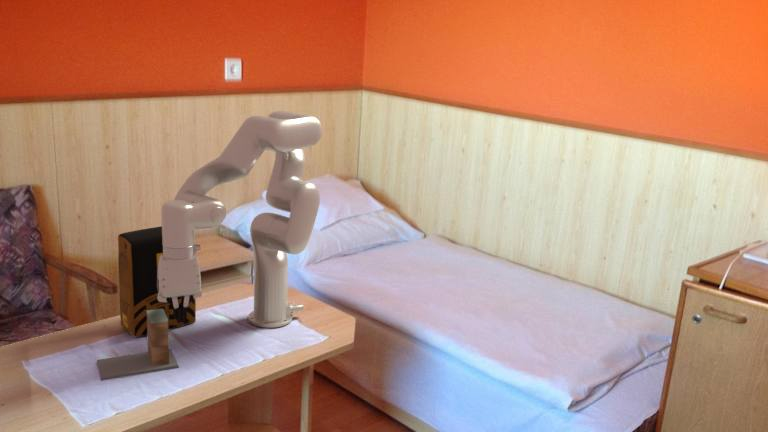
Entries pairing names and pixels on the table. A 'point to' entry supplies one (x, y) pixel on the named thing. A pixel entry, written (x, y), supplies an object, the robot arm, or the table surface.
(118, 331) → the table surface
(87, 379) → the table surface
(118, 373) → the mat
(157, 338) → the block
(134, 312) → the black tall two-tone box
